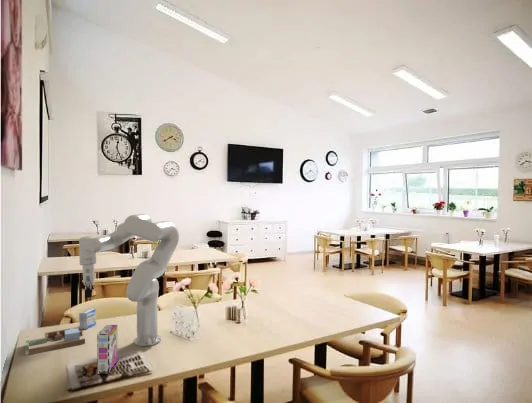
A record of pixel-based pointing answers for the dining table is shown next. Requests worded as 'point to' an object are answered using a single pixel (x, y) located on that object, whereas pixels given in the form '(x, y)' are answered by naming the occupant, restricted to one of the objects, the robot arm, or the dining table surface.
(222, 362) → the dining table surface
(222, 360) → the dining table surface
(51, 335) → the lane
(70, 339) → the block
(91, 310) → the medicine box
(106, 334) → the candy bar box
